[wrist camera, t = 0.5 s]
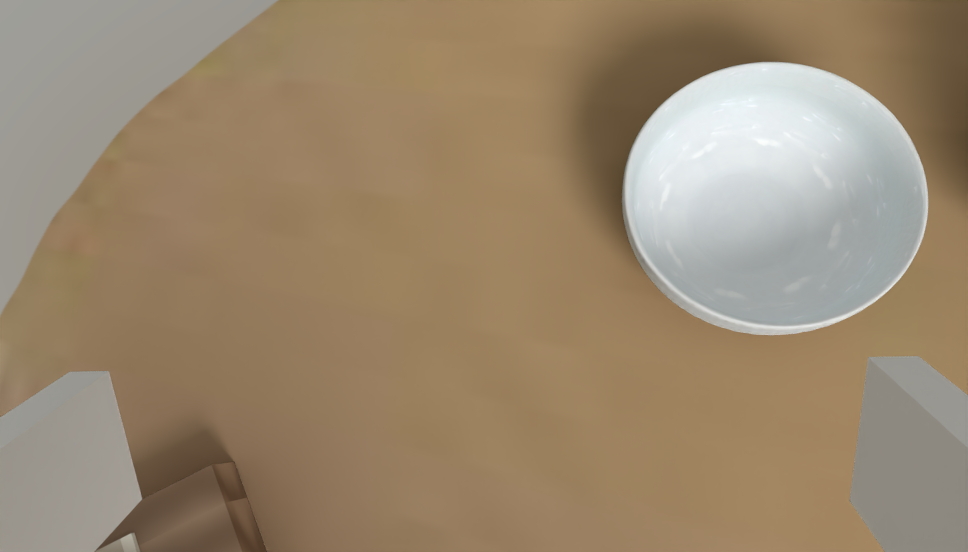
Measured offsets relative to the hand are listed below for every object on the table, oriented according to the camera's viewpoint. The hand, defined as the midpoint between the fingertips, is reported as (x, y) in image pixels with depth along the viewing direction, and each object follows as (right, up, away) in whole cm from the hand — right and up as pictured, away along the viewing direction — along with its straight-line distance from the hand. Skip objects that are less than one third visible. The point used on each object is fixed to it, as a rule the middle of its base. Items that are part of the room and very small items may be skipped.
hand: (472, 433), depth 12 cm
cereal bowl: (+18, +6, +34) cm, 39 cm away
